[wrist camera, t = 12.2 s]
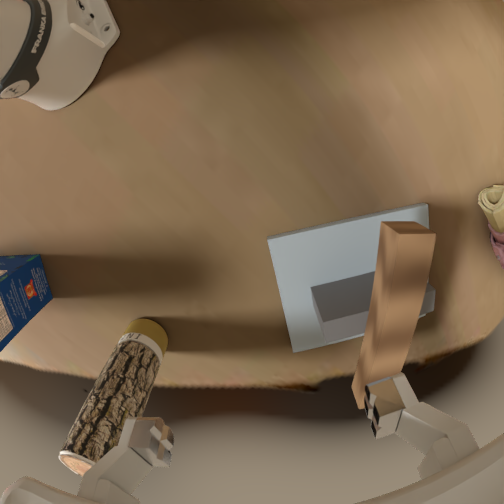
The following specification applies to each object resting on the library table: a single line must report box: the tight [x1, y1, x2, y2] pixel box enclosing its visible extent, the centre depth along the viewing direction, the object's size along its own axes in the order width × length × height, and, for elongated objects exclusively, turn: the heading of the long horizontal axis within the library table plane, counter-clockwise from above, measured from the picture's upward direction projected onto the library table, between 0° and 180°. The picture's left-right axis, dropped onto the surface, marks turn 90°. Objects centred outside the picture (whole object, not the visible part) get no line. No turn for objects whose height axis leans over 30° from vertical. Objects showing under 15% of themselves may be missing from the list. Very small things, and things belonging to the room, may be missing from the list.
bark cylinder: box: [59, 319, 168, 477], centre depth 29 cm, size 7×7×25 cm
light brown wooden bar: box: [352, 221, 436, 409], centre depth 27 cm, size 22×4×4 cm, turn 2°
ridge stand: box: [267, 203, 436, 353], centre depth 33 cm, size 22×18×9 cm
